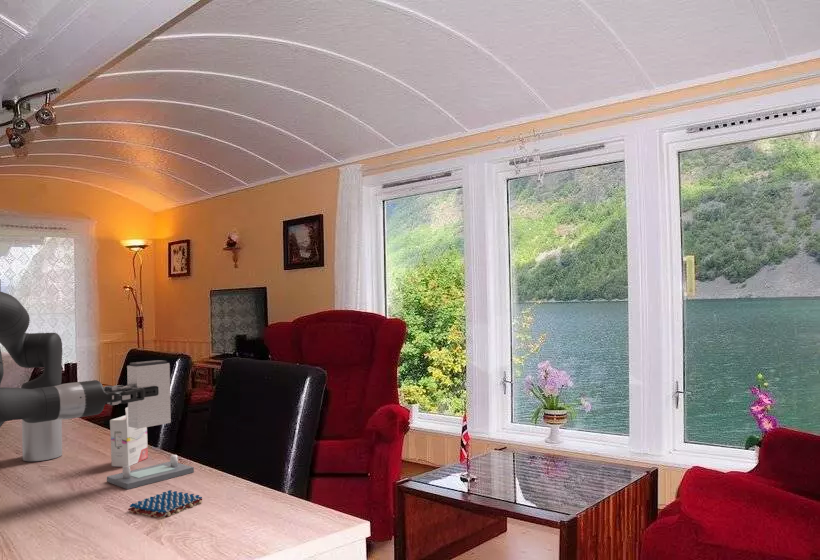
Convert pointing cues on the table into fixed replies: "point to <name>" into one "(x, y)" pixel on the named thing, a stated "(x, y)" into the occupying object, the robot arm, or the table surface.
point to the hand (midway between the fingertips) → (151, 389)
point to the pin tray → (149, 474)
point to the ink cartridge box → (127, 442)
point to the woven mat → (165, 504)
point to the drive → (152, 407)
